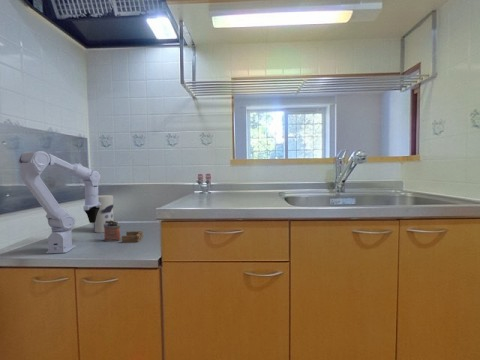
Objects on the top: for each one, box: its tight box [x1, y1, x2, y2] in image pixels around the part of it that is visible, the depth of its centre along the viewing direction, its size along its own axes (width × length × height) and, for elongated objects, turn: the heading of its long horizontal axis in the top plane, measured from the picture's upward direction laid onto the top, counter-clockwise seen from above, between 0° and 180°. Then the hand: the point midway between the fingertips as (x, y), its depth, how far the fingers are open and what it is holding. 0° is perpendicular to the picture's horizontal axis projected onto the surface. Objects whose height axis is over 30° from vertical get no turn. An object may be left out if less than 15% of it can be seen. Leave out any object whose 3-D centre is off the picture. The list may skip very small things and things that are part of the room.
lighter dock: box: [121, 230, 144, 244], centre depth 131 cm, size 10×8×3 cm
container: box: [93, 194, 115, 234], centre depth 149 cm, size 10×10×20 cm
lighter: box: [103, 220, 122, 243], centre depth 129 cm, size 8×3×10 cm, turn 84°
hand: (92, 222), depth 128 cm, fingers closed
